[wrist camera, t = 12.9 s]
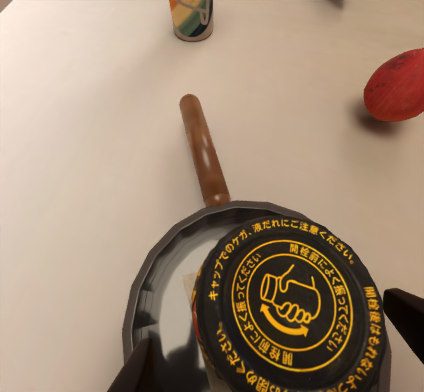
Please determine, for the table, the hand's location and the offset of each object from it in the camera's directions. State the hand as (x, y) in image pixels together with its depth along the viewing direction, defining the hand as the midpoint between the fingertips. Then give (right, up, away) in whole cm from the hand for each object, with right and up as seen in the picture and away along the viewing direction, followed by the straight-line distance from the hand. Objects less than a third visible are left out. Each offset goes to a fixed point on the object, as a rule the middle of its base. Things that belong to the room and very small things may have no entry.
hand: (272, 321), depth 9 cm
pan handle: (-3, +8, +12) cm, 15 cm away
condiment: (0, -4, +8) cm, 9 cm away
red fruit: (+16, +13, +17) cm, 27 cm away
